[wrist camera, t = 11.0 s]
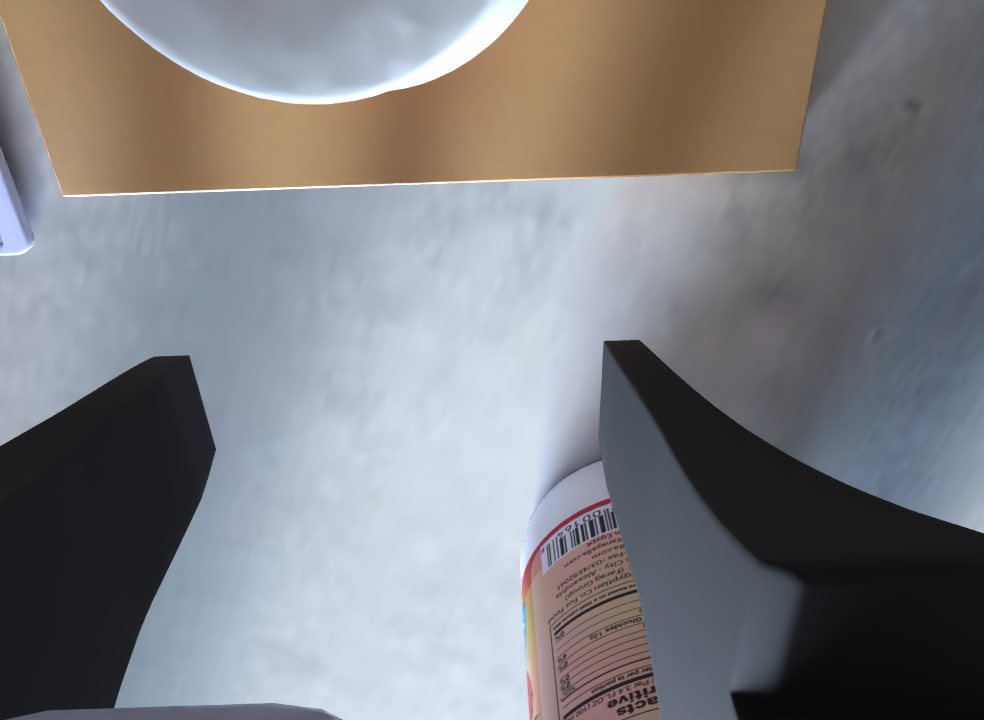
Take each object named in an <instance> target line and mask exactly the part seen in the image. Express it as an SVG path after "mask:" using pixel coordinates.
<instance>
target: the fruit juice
mask: <svg viewBox="0 0 984 720" xmlns="http://www.w3.org/2000/svg"><path fill="white" fill-rule="evenodd" d="M520 574H521V590H522V606H523V623H524V639H525V655H526V671H527V687H528V703H529V719H530V720H661V716H660V710H659V704H658V698H657V692H656V686H655V680H654V674H653V668H652V662H651V657H650V651H649V646H648V640H647V635H646V629H645V624H644V618H643V613H642V609H641V604H640V600H639V596H638V592H637V588H636V585H635V581H634V578H633V575H632V571H631V568H630V565H629V561H628V558H627V554H626V551H625V548H624V544H623V541H622V538H621V534H620V531H619V527H618V524H617V521H616V517H615V514H614V510H613V507H612V503H611V500H610V497H609V493H608V489H607V486H606V481H605V475H604V469H603V462H602V460H601V461H598V462H595V463H593V464H590V465H588V466H586V467H584V468H582V469H580V470H578V471H576V472H574V473H573V474H571V475H569V476H568V477H566V478H565V479H564V480H562V481H561V482H560V483H558V484H557V485H556V486H555V487H554V488H553V489H551V490H550V491H549V492H548V493H547V495H546V496H545V497H544V498H543V499H542V500H541V502H540V503H539V504H538V506H537V507H536V509H535V510H534V512H533V514H532V516H531V518H530V520H529V522H528V525H527V528H526V530H525V533H524V537H523V541H522V549H521V559H520Z"/></svg>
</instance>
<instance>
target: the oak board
mask: <svg viewBox="0 0 984 720" xmlns="http://www.w3.org/2000/svg"><path fill="white" fill-rule="evenodd" d="M826 4H827V0H529V1H528V2H527V4H526V5H525V7H524V8H523V9H522V10H521V12H520V13H519V14H518V16H517V17H516V18H515V19H514V21H513V22H512V23H511V24H510V25H509V26H508V27H507V28H506V30H505V31H504V32H503V33H502V34H501V35H500V36H499V37H498V38H497V39H496V40H494V41H493V42H492V43H491V44H490V45H489V46H488V47H486V48H485V49H484V50H482V51H481V52H480V53H479V54H477V55H476V56H475V57H474V58H472V59H471V60H469V61H468V62H466V63H464V64H463V65H461V66H459V67H458V68H456V69H455V70H453V71H451V72H449V73H446V74H444V75H442V76H440V77H438V78H436V79H433V80H431V81H428V82H425V83H422V84H419V85H415V86H411V87H408V88H403V89H397V90H390V91H386V92H384V93H381V94H378V95H376V96H372V97H367V98H363V99H359V100H354V101H347V102H339V103H331V104H297V103H286V102H281V101H275V100H270V99H263V98H258V97H255V96H251V95H248V94H245V93H241V92H238V91H235V90H232V89H229V88H226V87H223V86H220V85H218V84H216V83H213V82H211V81H209V80H206V79H204V78H202V77H200V76H198V75H196V74H194V73H192V72H191V71H189V70H187V69H185V68H183V67H182V66H180V65H178V64H177V63H175V62H173V61H172V60H170V59H169V58H167V57H166V56H164V55H163V54H161V53H160V52H159V51H157V50H156V49H154V48H153V47H152V46H150V45H149V44H148V43H146V42H145V41H144V40H142V39H141V38H140V37H139V36H138V35H136V34H135V33H134V32H133V31H132V30H130V29H129V28H128V27H127V26H126V25H125V24H124V23H122V22H121V21H120V20H119V19H118V18H117V17H116V16H115V15H114V14H112V13H111V12H110V11H109V10H108V9H107V7H106V6H105V5H104V4H103V3H102V2H101V1H100V0H0V17H1V19H2V22H3V25H4V28H5V31H6V34H7V37H8V40H9V43H10V46H11V49H12V51H13V54H14V57H15V60H16V63H17V66H18V69H19V72H20V75H21V78H22V80H23V83H24V86H25V89H26V92H27V95H28V98H29V101H30V104H31V107H32V109H33V112H34V115H35V118H36V121H37V124H38V127H39V130H40V133H41V136H42V139H43V141H44V144H45V147H46V150H47V153H48V156H49V159H50V162H51V165H52V168H53V170H54V173H55V176H56V179H57V182H58V185H59V188H60V191H61V194H62V195H63V196H64V197H80V196H108V195H136V194H164V193H192V192H220V191H248V190H276V189H304V188H332V187H360V186H387V185H415V184H443V183H471V182H499V181H527V180H555V179H583V178H611V177H639V176H667V175H695V174H722V173H750V172H778V171H794V170H796V168H797V163H798V157H799V152H800V146H801V141H802V135H803V130H804V125H805V119H806V114H807V108H808V103H809V97H810V92H811V86H812V81H813V75H814V70H815V64H816V59H817V54H818V48H819V43H820V37H821V32H822V26H823V21H824V15H825V10H826Z"/></svg>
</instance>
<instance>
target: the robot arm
mask: <svg viewBox="0 0 984 720" xmlns="http://www.w3.org/2000/svg"><path fill="white" fill-rule="evenodd" d="M0 237H1V238H2V239H3V243H0V255H18V254H23V253H25V252H26V251H27V250H29V249H30V248H31V247H32V246H33V244H34V241H35V240H34V234H33V232H32V229H31V226H30V224H29V221H28V218H27V216H26V213H25V210H24V208H23V205H22V202H21V200H20V197H19V194H18V192H17V189H16V186H15V184H14V181H13V178H12V176H11V173H10V170H9V168H8V165H7V162H6V160H5V157H4V154H3V152H2V149H1V146H0ZM599 442H600V449H601V456H602V462H603V469H604V475H605V481H606V486H607V489H608V493H609V497H610V500H611V503H612V507H613V510H614V514H615V517H616V521H617V524H618V527H619V531H620V534H621V538H622V541H623V544H624V548H625V551H626V554H627V558H628V561H629V565H630V568H631V571H632V575H633V578H634V581H635V585H636V588H637V592H638V596H639V600H640V604H641V609H642V613H643V618H644V624H645V629H646V635H647V640H648V646H649V651H650V657H651V662H652V668H653V674H654V680H655V686H656V692H657V698H658V704H659V710H660V716H661V720H984V533H981V532H978V531H975V530H971V529H968V528H965V527H962V526H959V525H956V524H952V523H949V522H946V521H943V520H940V519H937V518H933V517H930V516H927V515H924V514H921V513H917V512H915V511H912V510H909V509H906V508H904V507H901V506H899V505H896V504H894V503H891V502H888V501H886V500H883V499H881V498H878V497H876V496H873V495H870V494H868V493H866V492H863V491H861V490H859V489H856V488H854V487H852V486H849V485H847V484H845V483H843V482H840V481H838V480H836V479H834V478H832V477H830V476H828V475H826V474H824V473H822V472H820V471H818V470H816V469H814V468H812V467H810V466H808V465H806V464H804V463H802V462H800V461H798V460H797V459H795V458H793V457H791V456H789V455H787V454H786V453H784V452H782V451H781V450H779V449H777V448H776V447H774V446H772V445H771V444H769V443H767V442H766V441H764V440H763V439H761V438H759V437H758V436H756V435H754V434H753V433H751V432H750V431H748V430H747V429H745V428H744V427H742V426H741V425H740V424H738V423H737V422H736V421H734V420H733V419H731V418H730V417H729V416H727V415H726V414H725V413H723V412H722V411H721V410H719V409H718V408H716V407H715V406H714V405H713V404H711V403H710V402H709V401H708V400H706V399H705V398H704V397H703V396H701V395H700V394H699V393H698V392H697V391H695V390H694V389H693V388H692V387H691V386H690V385H688V384H687V383H686V382H685V381H684V380H683V379H681V378H680V377H679V376H678V375H677V374H676V373H675V372H674V371H673V370H671V369H670V368H669V367H668V366H667V365H666V364H665V363H664V362H663V361H662V360H661V359H659V358H658V357H657V356H656V355H655V354H654V353H653V352H652V351H651V350H650V349H649V348H648V347H647V346H645V345H644V344H643V343H642V342H641V341H640V340H622V341H604V346H603V365H602V384H601V403H600V422H599ZM215 451H216V448H215V444H214V441H213V437H212V434H211V430H210V427H209V423H208V420H207V416H206V413H205V409H204V406H203V402H202V399H201V395H200V392H199V388H198V385H197V381H196V378H195V374H194V371H193V367H192V364H191V360H190V357H189V355H188V356H159V357H153V358H150V359H148V360H146V361H144V362H142V363H140V364H138V365H136V366H135V367H133V368H131V369H129V370H128V371H126V372H124V373H123V374H121V375H119V376H118V377H116V378H114V379H113V380H111V381H109V382H108V383H106V384H104V385H103V386H101V387H100V388H98V389H96V390H95V391H93V392H92V393H90V394H88V395H87V396H85V397H83V398H82V399H80V400H79V401H77V402H75V403H74V404H72V405H70V406H69V407H67V408H65V409H64V410H62V411H61V412H59V413H57V414H56V415H54V416H52V417H50V418H49V419H47V420H45V421H43V422H42V423H40V424H38V425H36V426H35V427H33V428H31V429H29V430H28V431H26V432H24V433H22V434H21V435H19V436H17V437H15V438H14V439H12V440H10V441H8V442H7V443H5V444H3V445H1V446H0V720H342V719H340V718H338V717H336V716H334V715H332V714H330V713H328V712H326V711H324V710H322V709H315V708H307V707H299V706H292V705H284V704H276V703H265V704H233V705H202V706H170V707H139V708H114V706H115V703H116V700H117V696H118V693H119V690H120V687H121V684H122V681H123V678H124V675H125V672H126V669H127V666H128V663H129V660H130V658H131V655H132V652H133V649H134V646H135V643H136V640H137V637H138V635H139V632H140V629H141V627H142V624H143V622H144V620H145V617H146V615H147V612H148V610H149V608H150V605H151V603H152V601H153V599H154V597H155V595H156V593H157V591H158V589H159V587H160V585H161V582H162V580H163V578H164V576H165V574H166V572H167V570H168V568H169V566H170V564H171V562H172V560H173V558H174V556H175V553H176V551H177V549H178V547H179V545H180V543H181V541H182V539H183V537H184V535H185V533H186V531H187V528H188V526H189V524H190V522H191V520H192V518H193V516H194V513H195V511H196V509H197V507H198V505H199V502H200V500H201V498H202V495H203V492H204V489H205V486H206V483H207V479H208V476H209V473H210V469H211V465H212V462H213V458H214V455H215Z"/></svg>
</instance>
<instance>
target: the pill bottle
mask: <svg viewBox="0 0 984 720" xmlns="http://www.w3.org/2000/svg"><path fill="white" fill-rule="evenodd" d="M100 1H101V2H102V3H103V4H104V5H105V6H106V7H107V9H108V10H109V11H110V12H111V13H112V14H114V15H115V16H116V17H117V18H118V19H119V20H120V21H121V22H122V23H124V24H125V25H126V26H127V27H128V28H129V29H130V30H132V31H133V32H134V33H135V34H136V35H138V36H139V37H140V38H141V39H142V40H144V41H145V42H146V43H148V44H149V45H150V46H152V47H153V48H154V49H156V50H157V51H159V52H160V53H161V54H163V55H164V56H166V57H167V58H169V59H170V60H172V61H173V62H175V63H177V64H178V65H180V66H182V67H183V68H185V69H187V70H189V71H191V72H192V73H194V74H196V75H198V76H200V77H202V78H204V79H206V80H209V81H211V82H213V83H216V84H218V85H220V86H223V87H226V88H229V89H232V90H235V91H238V92H241V93H245V94H248V95H251V96H255V97H258V98H263V99H270V100H275V101H281V102H286V103H297V104H331V103H339V102H347V101H354V100H359V99H363V98H367V97H372V96H376V95H378V94H381V93H384V92H386V91H390V90H397V89H403V88H408V87H411V86H415V85H419V84H422V83H425V82H428V81H431V80H433V79H436V78H438V77H440V76H442V75H444V74H446V73H449V72H451V71H453V70H455V69H456V68H458V67H459V66H461V65H463V64H464V63H466V62H468V61H469V60H471V59H472V58H474V57H475V56H476V55H477V54H479V53H480V52H481V51H482V50H484V49H485V48H486V47H488V46H489V45H490V44H491V43H492V42H493V41H494V40H496V39H497V38H498V37H499V36H500V35H501V34H502V33H503V32H504V31H505V30H506V28H507V27H508V26H509V25H510V24H511V23H512V22H513V21H514V19H515V18H516V17H517V16H518V14H519V13H520V12H521V10H522V9H523V8H524V7H525V5H526V4H527V2H528V1H529V0H100Z"/></svg>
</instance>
